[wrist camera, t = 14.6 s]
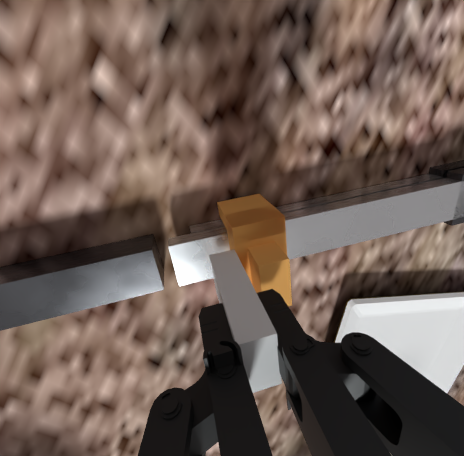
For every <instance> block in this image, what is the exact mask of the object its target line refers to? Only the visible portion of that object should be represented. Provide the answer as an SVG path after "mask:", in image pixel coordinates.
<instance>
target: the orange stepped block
mask: <svg viewBox="0 0 464 456" xmlns="http://www.w3.org/2000/svg"><path fill="white" fill-rule="evenodd" d="M217 204H218V210H219V216H220V218H221V220H222V222H223V223H224V225H225V227H226V229H227V234H228V240H229V246H230V250H232V249H234V250H235V252H236V253H237V255H238V257H239V259H240V261H241V263H242V265H243V267H244V269H245V271H246V273H247V275H248V277H249V279H250V281H251V283H252V285H253V287H254V289H255V291H256V293H258V292H262V291H266V290H270V289H273V290H275V291H276V292H278V293H279V294H281V296H282V297H283V299H284V301H285V303H286V304H287V305H288V306H291V305H292V298H291V280H290V263H289V258H288V257H287V242H286V226H285V216H284V215H283V214H282V213H281V212H280V211H279V210H277V209H276V208H275V207H274V206H273V205H272V204H271V203H269V202H268V201H267V200H266V199H265V198H264V197H263V196H261V195H260V194H255V195H250V196H245V197H240V198H235V199H231V200H226V201H221V202H217Z"/></svg>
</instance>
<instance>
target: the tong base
mask: <svg viewBox="0 0 464 456" xmlns="http://www.w3.org/2000/svg"><path fill="white" fill-rule="evenodd" d="M460 168H464V160H463V161H458V162H453V163H449V164H444V165H440V166H435V167H430V171H429V174H425V175H421V176H416V177H412V178H407V179H402V180H398V181H393V182H389V183H384V184H380V185H375V186H370V187H366V188H361V189H357V190H352V191H348V192H343V193H338V194H334V195H329V196H325V197H320V198H316V199H311V200H306V201H302V202H297V203H293V204H288V205H284V206H279V207H275V208H276V209H277V210H279V211H280V212H281V213H287V212H291V211H296V210H301V209H305V208H310V207H314V206H319V205H324V204H328V203H333V202H337V201H342V200H346V199H351V198H356V197H360V196H365V195H369V194H374V193H378V192H383V191H388V190H392V189H397V188H401V187H406V186H411V185H415V184H420V183H424V182H429V181H433V180H438V179H443V178H446V176H447V171H451V170H455V169H460ZM223 226H225V225H224V223H223V222H222V220H221V219H220V220H215V221H210V222H206V223H201V224H197V225H192V226H189V227H190V231H191V233H195V232H200V231H204V230H209V229H214V228H218V227H223ZM161 290H164V269H163V265H162V262H161V258H160V255H159V252H158V248H157V245H156V241H155V238H154V235H153V234H151V235H146V236H142V237H137V238H133V239H128V240H124V241H119V242H114V243H110V244H105V245H101V246H96V247H91V248H87V249H82V250H78V251H73V252H69V253H64V254H59V255H55V256H50V257H46V258H41V259H37V260H32V261H27V262H23V263H18V264H14V265H9V266H5V267H0V331H1V330H5V329H9V328H13V327H17V326H21V325H25V324H29V323H33V322H37V321H41V320H45V319H49V318H53V317H57V316H61V315H65V314H69V313H73V312H77V311H81V310H85V309H89V308H93V307H97V306H101V305H105V304H109V303H113V302H117V301H121V300H125V299H129V298H133V297H137V296H141V295H145V294H149V293H153V292H157V291H161Z"/></svg>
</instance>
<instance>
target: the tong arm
mask: <svg viewBox="0 0 464 456" xmlns="http://www.w3.org/2000/svg"><path fill="white" fill-rule="evenodd" d="M282 214H283V215H284V216H285V226H286V242H287V257H288V258H289V259H293V258H297V257H302V256H306V255H310V254H314V253H318V252H322V251H326V250H330V249H334V248H338V247H343V246H347V245H351V244H355V243H359V242H363V241H367V240H371V239H375V238H379V237H384V236H388V235H392V234H396V233H400V232H404V231H408V230H412V229H416V228H420V227H425V226H429V225H433V224H437V223H441V222H444V223H447V224H449V225H456V224H460V223H464V168H460V169H455V170H451V171H447V176H446V178H443V179H438V180H433V181H429V182H424V183H420V184H415V185H411V186H406V187H401V188H397V189H392V190H388V191H383V192H378V193H374V194H369V195H365V196H360V197H356V198H351V199H346V200H342V201H337V202H333V203H328V204H324V205H319V206H314V207H310V208H305V209H301V210H296V211H291V212H287V213H282ZM168 248H169V251H170V255H171V259H172V262H173V266H174V270H175V273H176V277H177V281H178V284H179V286H183V285H187V284H191V283H195V282H199V281H203V280H207V279H211V278H214V277H213V272H212V268H211V263H210V258H209V255H211V254H216V253H220V252H224V251H228V250H230V246H229V240H228V234H227V229H226V227H225V226H223V227H218V228H214V229H209V230H204V231H200V232H195V233H191V234H186V235H181V236H177V237H172V238H168Z"/></svg>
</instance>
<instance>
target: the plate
mask: <svg viewBox="0 0 464 456" xmlns="http://www.w3.org/2000/svg"><path fill="white" fill-rule="evenodd" d="M352 332H360V333H363V334H367V335H369V336H371V337H372V338H374V339H375V340H377V341H378V342H379V343H381V344H382V345H383V346H385V347H386V348H387V349H389V350H390V351H391V352H393V353H394V354H395V355H397V356H398V357H399V358H401V359H402V360H403V361H404V362H406V363H407V364H408V365H410V366H411V367H412V368H414V369H415V370H416V371H418V372H419V373H420V374H422V375H423V376H424V377H426V378H427V379H428V380H430V381H431V382H432V383H434V384H435V385H436V386H438V387H439V388H440V389H442V390H443V391H444V392H446V393H448V391H449V389H450V388H451V386H452V384H453V382H454V381H455V379H456V377H457V376H458V374H459V372H460V370H461V369H462V367H463V365H464V291H461V292H445V293H429V294H413V295H398V296H382V297H366V298H351V299H349V300H348V301H346V305H345V308H344V311H343V314H342V317H341V320H340V323H339V326H338V330H337V333H336V336H335V339H334V342H333V343H341V341H342V338H343V337H344V336H345V335H346V334H349V333H352Z"/></svg>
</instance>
